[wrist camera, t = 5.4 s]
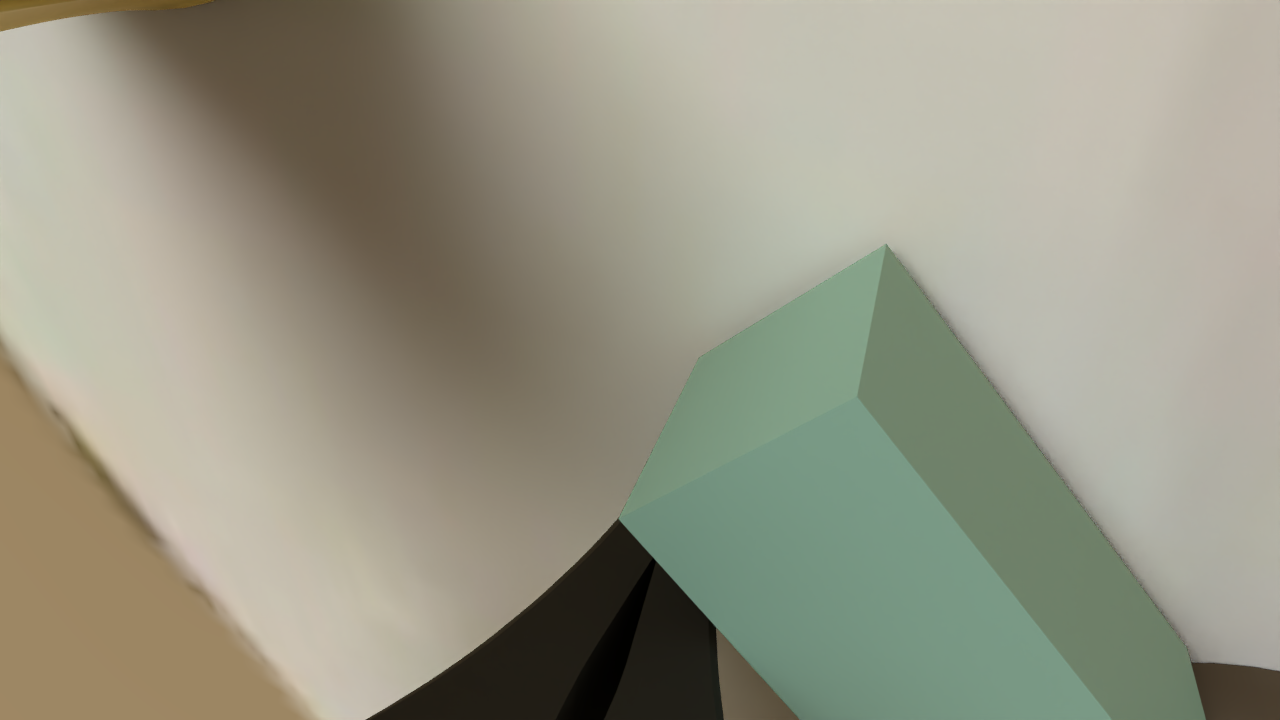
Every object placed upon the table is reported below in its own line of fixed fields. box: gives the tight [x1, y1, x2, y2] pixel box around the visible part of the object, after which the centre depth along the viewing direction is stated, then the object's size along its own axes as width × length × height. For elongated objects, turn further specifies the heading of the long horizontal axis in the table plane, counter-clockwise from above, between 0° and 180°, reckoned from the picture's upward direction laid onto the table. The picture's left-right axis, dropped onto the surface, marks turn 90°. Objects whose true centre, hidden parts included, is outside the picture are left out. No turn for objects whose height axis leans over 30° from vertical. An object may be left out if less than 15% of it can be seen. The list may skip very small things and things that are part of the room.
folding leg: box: [619, 244, 1206, 720], centre depth 11 cm, size 7×3×4 cm, turn 41°
